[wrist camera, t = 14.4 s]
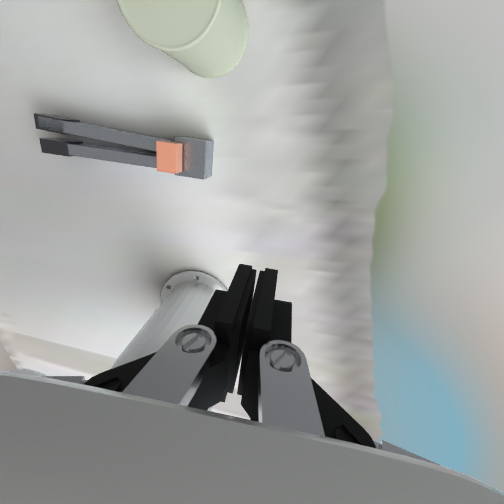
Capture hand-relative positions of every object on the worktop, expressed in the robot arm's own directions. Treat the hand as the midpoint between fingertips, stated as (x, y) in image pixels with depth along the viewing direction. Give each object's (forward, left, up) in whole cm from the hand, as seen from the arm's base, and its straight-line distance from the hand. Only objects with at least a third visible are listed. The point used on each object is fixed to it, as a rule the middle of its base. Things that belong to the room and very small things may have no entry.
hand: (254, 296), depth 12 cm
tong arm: (+4, +24, -27) cm, 37 cm away
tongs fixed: (+2, +22, -28) cm, 35 cm away
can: (+16, +11, -28) cm, 34 cm away
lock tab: (+2, +14, -24) cm, 28 cm away
